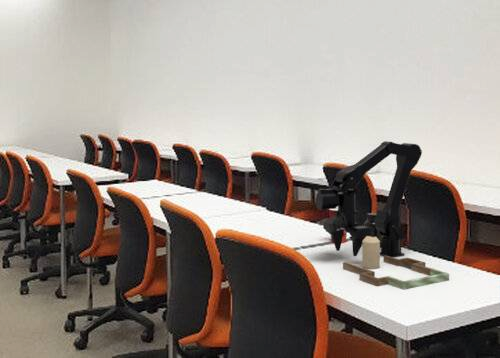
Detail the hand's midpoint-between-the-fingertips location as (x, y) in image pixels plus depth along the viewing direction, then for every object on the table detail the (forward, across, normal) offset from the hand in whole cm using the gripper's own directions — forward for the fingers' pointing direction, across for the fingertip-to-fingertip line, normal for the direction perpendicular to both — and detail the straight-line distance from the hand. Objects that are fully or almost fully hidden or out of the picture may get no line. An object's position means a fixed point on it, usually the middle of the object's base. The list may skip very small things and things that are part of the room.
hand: (346, 253), depth 220 cm
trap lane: (+2, +23, 0) cm, 23 cm away
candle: (+2, +12, 0) cm, 13 cm away
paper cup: (+2, -24, +15) cm, 28 cm away
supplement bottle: (+2, -10, +21) cm, 24 cm away
